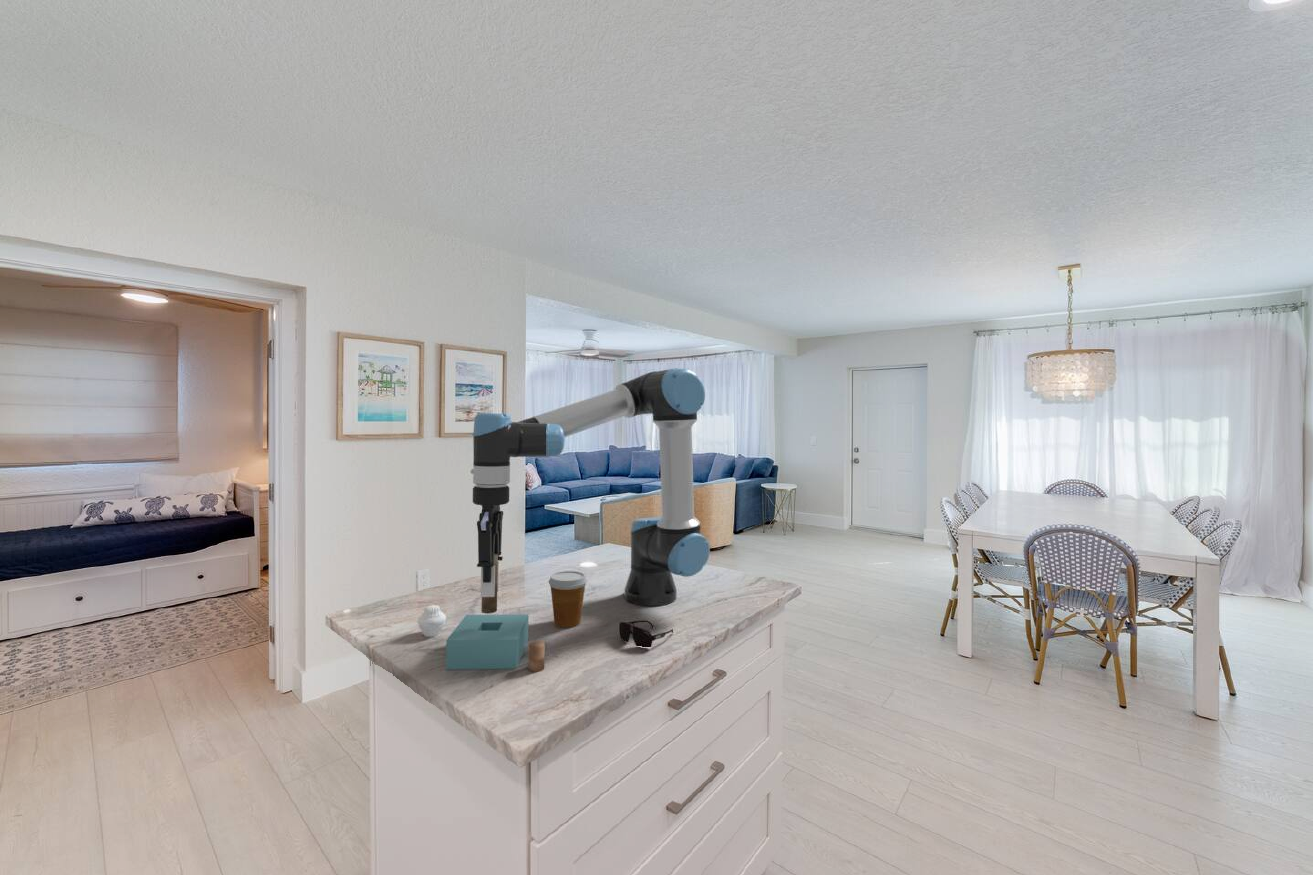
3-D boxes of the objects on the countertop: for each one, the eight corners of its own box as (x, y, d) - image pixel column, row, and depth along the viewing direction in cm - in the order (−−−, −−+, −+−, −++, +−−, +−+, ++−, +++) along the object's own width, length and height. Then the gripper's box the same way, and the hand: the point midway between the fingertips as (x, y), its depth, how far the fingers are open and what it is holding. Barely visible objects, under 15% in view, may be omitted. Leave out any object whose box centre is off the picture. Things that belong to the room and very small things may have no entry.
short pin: (545, 664, 109) (545, 640, 109) (543, 671, 106) (543, 647, 106) (529, 664, 109) (530, 640, 109) (527, 672, 106) (527, 647, 106)
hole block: (528, 639, 121) (528, 614, 121) (516, 668, 107) (516, 639, 107) (466, 640, 120) (466, 614, 120) (446, 669, 106) (446, 640, 106)
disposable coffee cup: (540, 627, 129) (541, 578, 129) (560, 614, 138) (561, 568, 137) (574, 633, 126) (575, 583, 125) (593, 619, 135) (593, 572, 134)
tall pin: (498, 608, 115) (499, 553, 115) (495, 613, 112) (496, 557, 112) (483, 608, 115) (484, 553, 114) (479, 613, 112) (480, 557, 111)
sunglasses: (612, 640, 122) (615, 618, 123) (646, 632, 131) (648, 611, 132) (646, 654, 115) (649, 630, 116) (679, 644, 124) (681, 622, 125)
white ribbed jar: (416, 641, 119) (416, 610, 119) (418, 631, 125) (418, 602, 125) (446, 637, 122) (446, 607, 122) (446, 627, 127) (446, 599, 127)
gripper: (482, 480, 120) (481, 582, 121) (462, 489, 104) (460, 606, 105) (516, 481, 121) (514, 582, 121) (500, 490, 105) (499, 606, 106)
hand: (489, 593), depth 113 cm, fingers closed on tall pin, 3 cm apart
